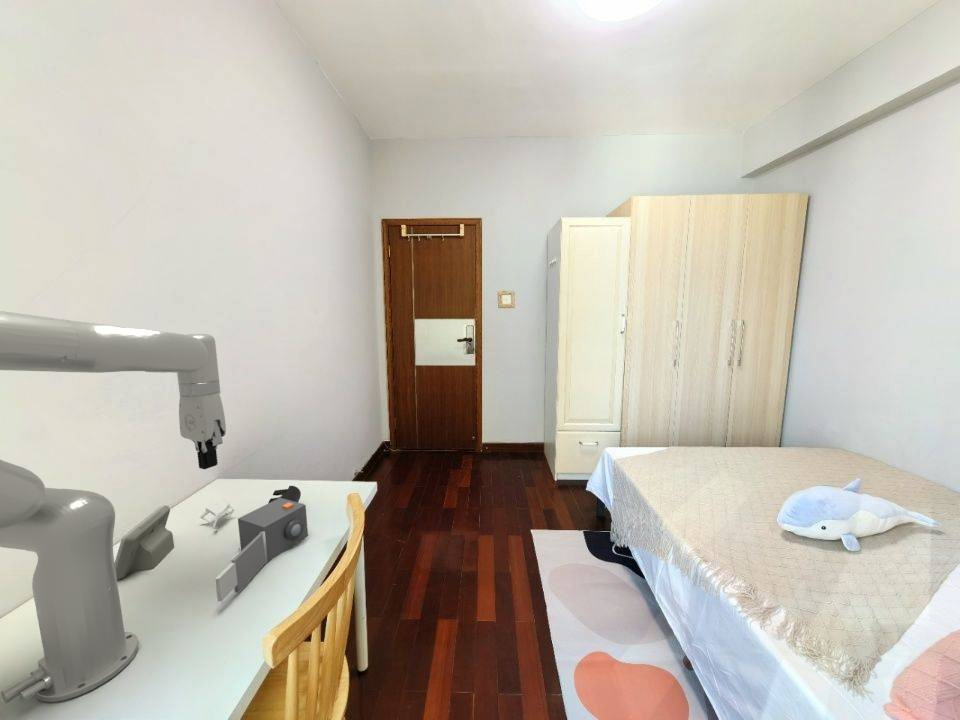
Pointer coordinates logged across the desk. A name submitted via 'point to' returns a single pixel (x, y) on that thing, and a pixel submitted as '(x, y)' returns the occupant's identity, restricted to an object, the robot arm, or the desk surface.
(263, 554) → the side door
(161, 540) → the digital clock
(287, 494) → the black curved claw shape
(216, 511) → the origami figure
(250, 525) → the camera body
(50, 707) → the desk surface
